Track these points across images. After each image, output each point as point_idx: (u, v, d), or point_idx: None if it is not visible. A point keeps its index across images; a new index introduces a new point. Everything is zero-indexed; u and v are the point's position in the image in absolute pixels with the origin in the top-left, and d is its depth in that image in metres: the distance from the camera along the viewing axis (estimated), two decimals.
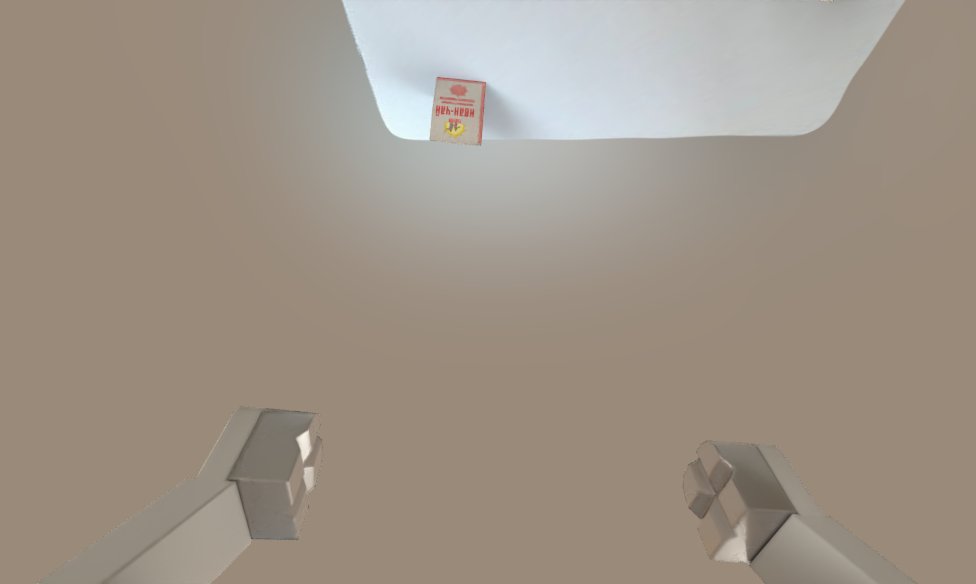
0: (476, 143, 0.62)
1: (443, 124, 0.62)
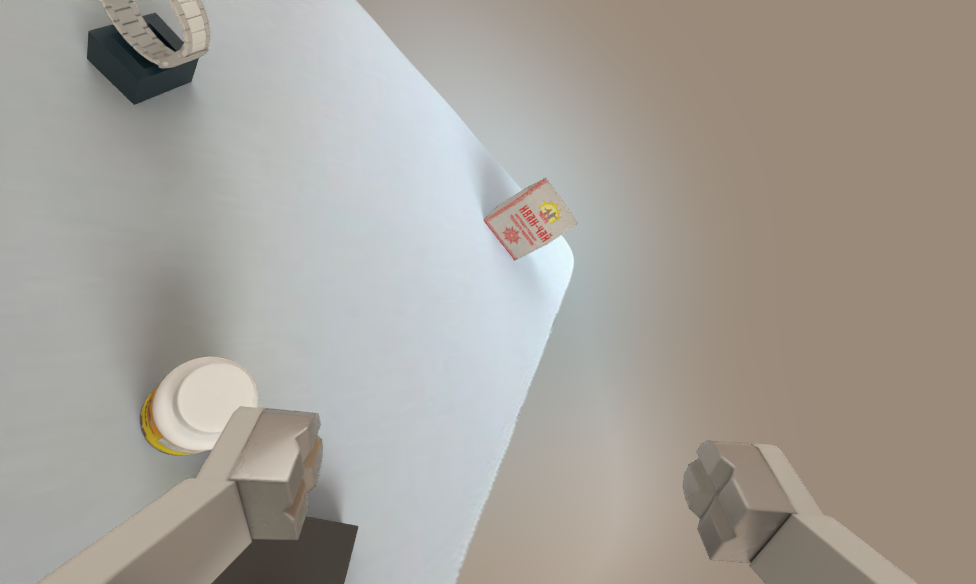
0: (547, 183, 0.55)
1: (554, 223, 0.57)
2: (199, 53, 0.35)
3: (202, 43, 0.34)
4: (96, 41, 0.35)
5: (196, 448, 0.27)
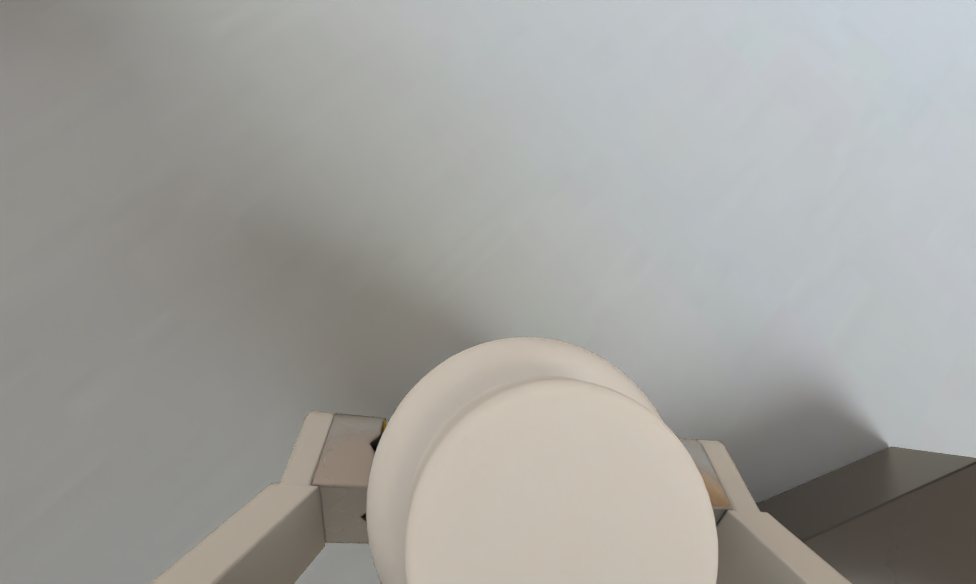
0: None
1: None
2: None
3: None
4: None
5: None
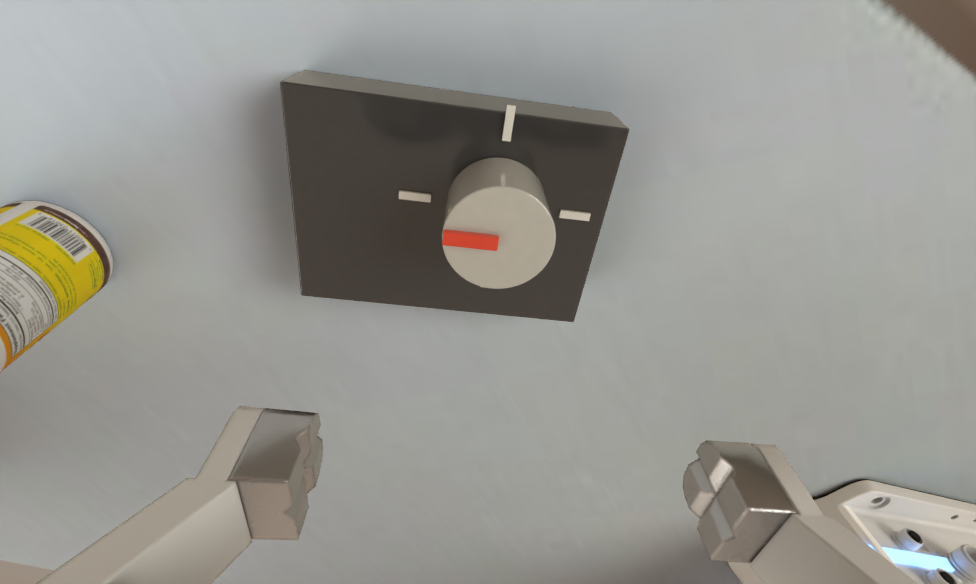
0: None
1: None
2: None
3: None
4: None
5: None
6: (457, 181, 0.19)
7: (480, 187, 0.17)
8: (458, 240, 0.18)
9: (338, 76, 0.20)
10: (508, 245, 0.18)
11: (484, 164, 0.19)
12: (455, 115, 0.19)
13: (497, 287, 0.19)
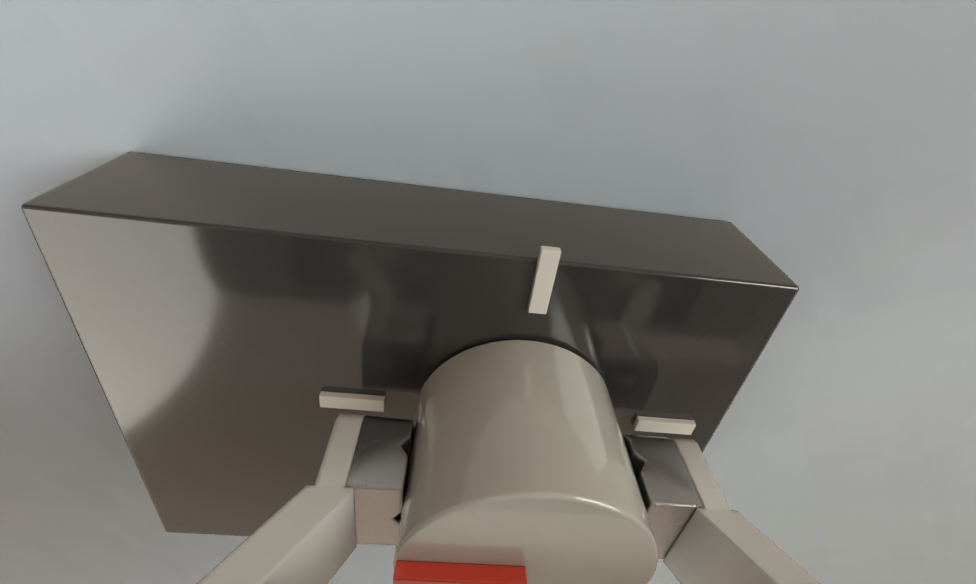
0: None
1: None
2: None
3: None
4: None
5: None
6: (433, 396, 0.09)
7: (483, 485, 0.07)
8: None
9: (195, 166, 0.10)
10: (547, 579, 0.08)
11: (492, 366, 0.09)
12: (427, 266, 0.09)
13: None
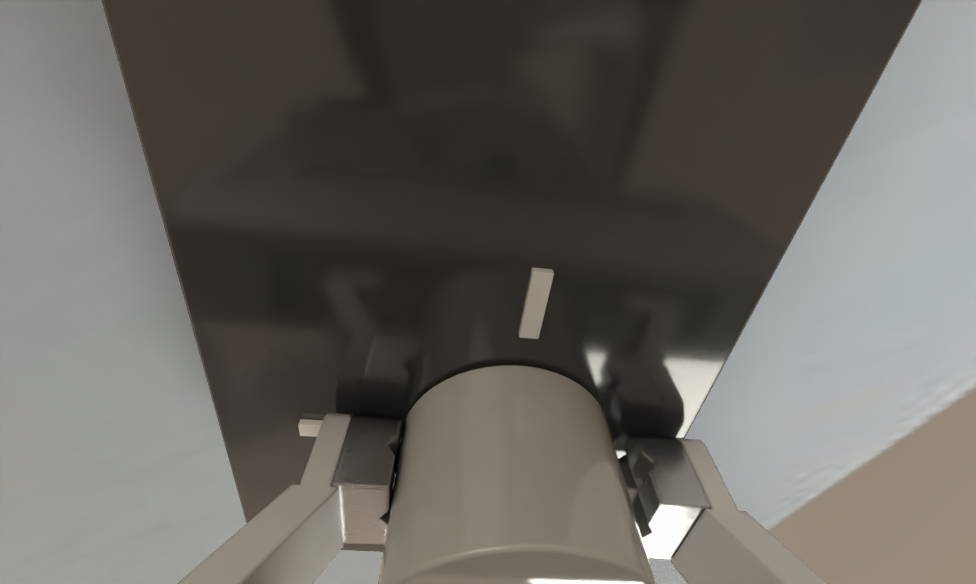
0: None
1: None
2: None
3: None
4: None
5: None
6: (415, 430, 0.09)
7: (462, 538, 0.06)
8: None
9: None
10: None
11: (475, 397, 0.08)
12: (700, 376, 0.09)
13: None
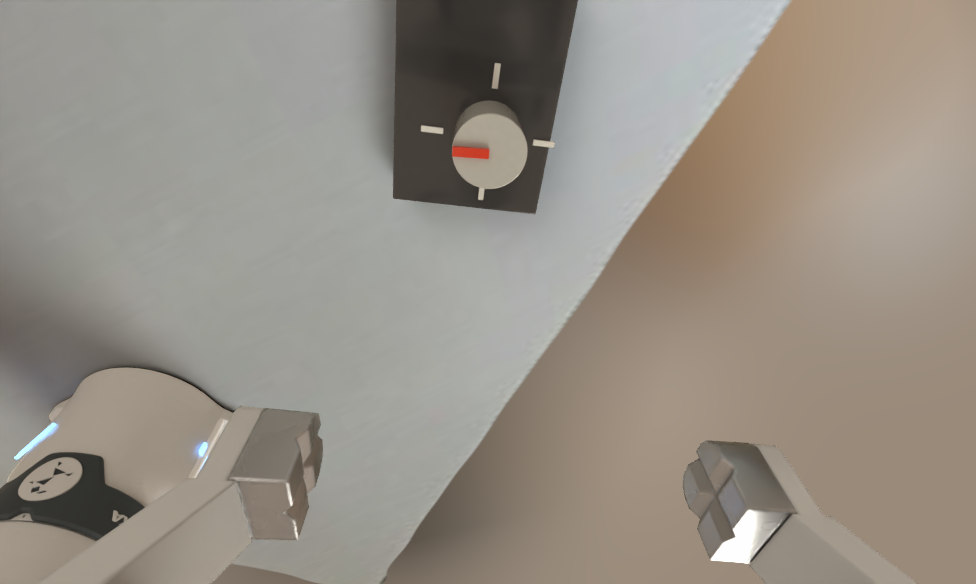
0: None
1: None
2: None
3: None
4: None
5: None
6: (460, 117, 0.29)
7: (475, 115, 0.26)
8: (462, 152, 0.27)
9: None
10: (496, 155, 0.27)
11: (478, 104, 0.28)
12: (550, 108, 0.29)
13: (490, 187, 0.28)
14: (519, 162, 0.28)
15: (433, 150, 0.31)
